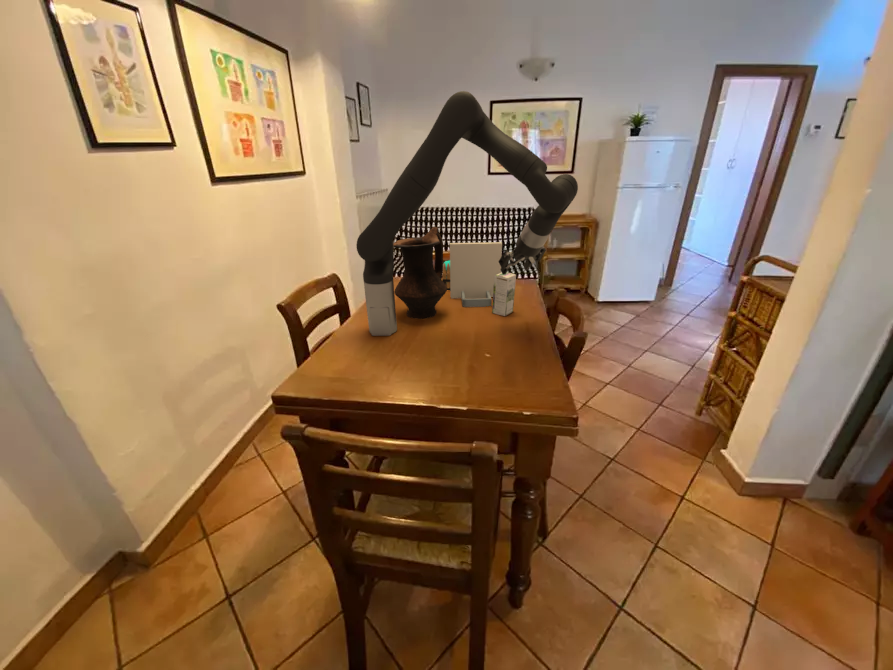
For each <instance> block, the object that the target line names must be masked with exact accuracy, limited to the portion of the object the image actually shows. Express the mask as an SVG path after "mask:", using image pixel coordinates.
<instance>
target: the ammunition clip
mask: <svg viewBox="0 0 893 670" xmlns="http://www.w3.org/2000/svg"><path fill="white" fill-rule="evenodd" d="M443 263H444V262H443ZM446 276H447V278H446ZM442 281H443V282H444V284H445V285H446V287H447V290H450V266H449V263H448V265H447V270H446V266H445V263H444V264H443V274H442Z"/></svg>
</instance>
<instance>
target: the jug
mask: <svg viewBox="0 0 893 670" xmlns="http://www.w3.org/2000/svg"><path fill="white" fill-rule="evenodd" d="M392 243H393V248H396V249H401V256H402V262H403V267H404V273H403V276H402V277H401V279H400V280H399V282H398V283H397V285H396V287H395V288H394V296H396V297H397V298H398V299H400V300H401V301H402V302H403V304H405V306H406V307H407V309H408V310H407V312H406V317H408V318H409V319H413V320H425V319H430V318H433V317H435V316H436V315H437V309H436V306H437V304H438V303H439V301H440V300H441V299H442V297H444V296H445V294H447V293H446V292H448V291H447V287H446V285H445V284H444V282H443V263H444V244H443V240H442V236H441V234H440V229H439V227H436V226H434V227H431V228H430V230H429V231H428V232H427V233H426V234H425V235H423V236H417V237H408V238H403V239H399V240H396V241H395V242H392ZM433 254H434V255H433ZM433 257H434V258H433Z"/></svg>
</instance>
